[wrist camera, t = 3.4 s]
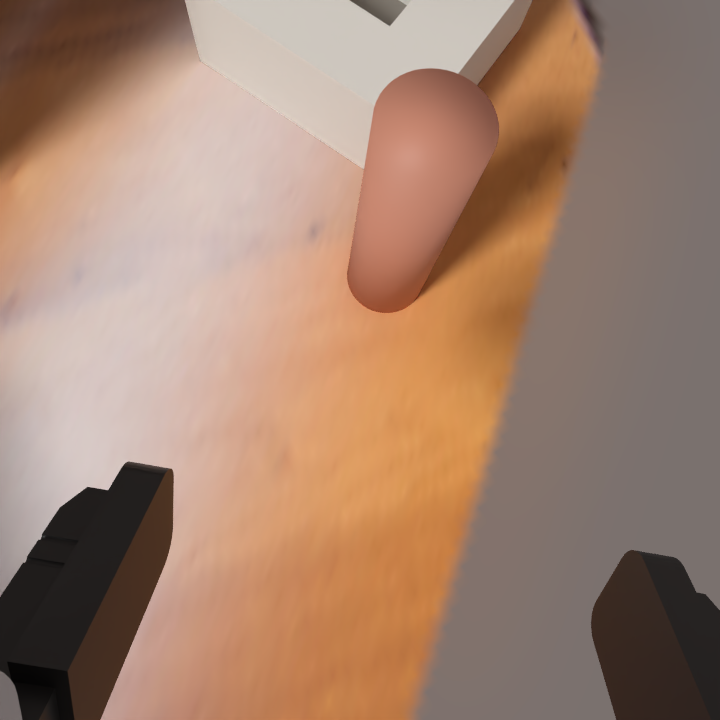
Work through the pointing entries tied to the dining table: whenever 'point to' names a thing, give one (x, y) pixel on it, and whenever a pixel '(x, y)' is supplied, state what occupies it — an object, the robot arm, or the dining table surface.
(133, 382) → the dining table surface
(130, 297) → the dining table surface
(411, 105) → the pin
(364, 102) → the block
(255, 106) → the dining table surface
